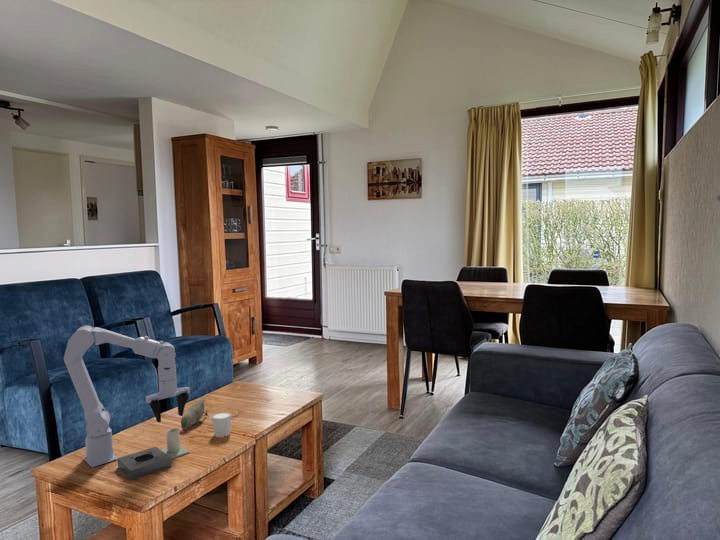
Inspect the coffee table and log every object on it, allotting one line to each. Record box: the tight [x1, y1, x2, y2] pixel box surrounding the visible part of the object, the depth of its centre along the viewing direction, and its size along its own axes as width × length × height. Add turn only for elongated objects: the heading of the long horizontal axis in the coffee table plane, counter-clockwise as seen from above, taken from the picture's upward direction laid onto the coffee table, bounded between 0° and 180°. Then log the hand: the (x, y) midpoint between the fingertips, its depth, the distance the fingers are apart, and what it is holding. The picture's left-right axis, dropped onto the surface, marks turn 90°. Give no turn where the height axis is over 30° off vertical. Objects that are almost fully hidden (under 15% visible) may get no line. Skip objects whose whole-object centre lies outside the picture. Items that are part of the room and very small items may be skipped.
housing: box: [117, 446, 172, 481], centre depth 158 cm, size 12×12×3 cm
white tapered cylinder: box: [211, 412, 232, 438], centre depth 183 cm, size 7×7×7 cm
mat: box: [159, 445, 191, 460], centre depth 168 cm, size 9×7×1 cm
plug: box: [166, 427, 181, 453], centre depth 168 cm, size 4×4×7 cm
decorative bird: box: [180, 398, 209, 432], centre depth 194 cm, size 5×16×7 cm, turn 170°
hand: (169, 418), depth 171 cm, fingers open, 7 cm apart
